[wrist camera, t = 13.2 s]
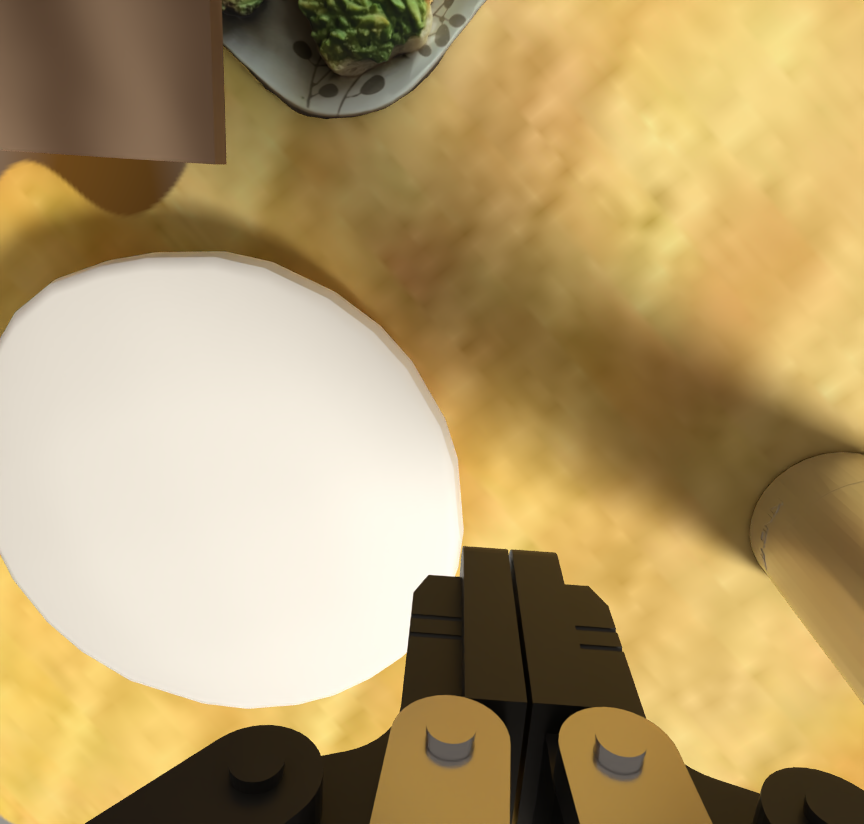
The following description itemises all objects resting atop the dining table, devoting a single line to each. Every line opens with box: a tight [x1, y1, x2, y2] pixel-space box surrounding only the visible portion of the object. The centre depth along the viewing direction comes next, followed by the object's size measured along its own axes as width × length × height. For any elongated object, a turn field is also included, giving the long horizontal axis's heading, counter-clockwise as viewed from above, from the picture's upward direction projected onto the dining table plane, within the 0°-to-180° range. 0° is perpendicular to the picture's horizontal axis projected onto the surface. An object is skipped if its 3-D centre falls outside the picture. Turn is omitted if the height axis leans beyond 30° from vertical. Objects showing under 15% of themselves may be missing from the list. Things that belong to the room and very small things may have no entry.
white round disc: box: [0, 251, 463, 709], centre depth 41 cm, size 28×6×27 cm
